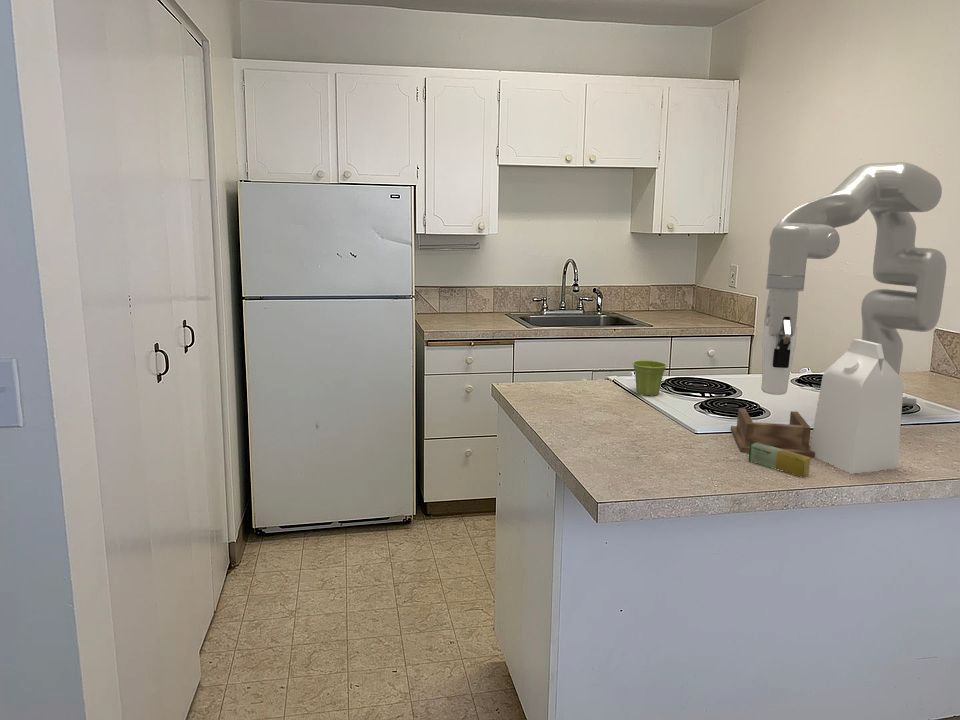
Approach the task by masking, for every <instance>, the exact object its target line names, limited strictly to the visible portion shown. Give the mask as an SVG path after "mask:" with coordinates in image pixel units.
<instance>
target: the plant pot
mask: <svg viewBox="0 0 960 720" xmlns="http://www.w3.org/2000/svg"><path fill="white" fill-rule="evenodd" d="M631 364H632V365H633V369H634V374H635V376H634V377H635V390H636V394H639V395H641V396H652V397H655V396H658V395H659V394H660V388H661V384H662V381H663V376H664V372H665V369H666V368H667V363H664V362H662V361H658V360H646V359H644V360H643V359H642V360H634V361H633V362H632V363H631ZM654 395H655V396H654Z"/></svg>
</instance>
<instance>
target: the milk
mask: <svg viewBox="0 0 960 720" xmlns="http://www.w3.org/2000/svg"><path fill="white" fill-rule="evenodd" d="M903 397H904V383H903V379H902V378H901V376H900V374H899V375H898V374H897V373H896V372H895V371H894V369H893V368H892V367H891V366H890V365H889V364H888V363H887V362H886V360H885V359H884V355H883V350H882V345H881V344H878V343H873V342H869V341H865V340H862V339H859V338H854V339H852V341H851V343H850V345H849V347H848V348H847V351H846V352H845V353H843V354H842V355H841V356H840V357H839V358H837V359H836V361H835V362H833V363H832V364H831V365H830V366H829V367H828V368H827V369H826V370H825V371H824V373H823V375H822V377H821V383H820V387H819V395H818V400H817V406H816V412H815V417H814V423H813V429H812V433H811V434H812V435H811V439H810V440H811V441H810V444H809V445H810V450H811V451H813V452H815V457H814V458H816V459H817V460H820V461H822V462H825V463H826V462H827V463H826V464H828V463H829V465H830V464H831V466H832V465H834V466H833V467H835V466H836V467H835V468H837V467H839V468H841V469H843V470H845V471H847V472H846V473H848V472H849V473H848V474H850V473H851V474H850V475H855V474H854V473H859V474H861V473H860V472H867V473H870V472H869V471H876V472H878V471H877V470H884V471H888V470H887V469H892V470H895V469H894V468H897V469H898V466H899V465H898V464H899V452H900V451H899V449H900V437H901V427H902V426H901V423H902V422H901V421H902V411H903V406H902V399H903ZM839 468H838V469H839ZM841 469H840V470H841ZM843 470H842V471H843ZM845 471H844V472H845Z"/></svg>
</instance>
